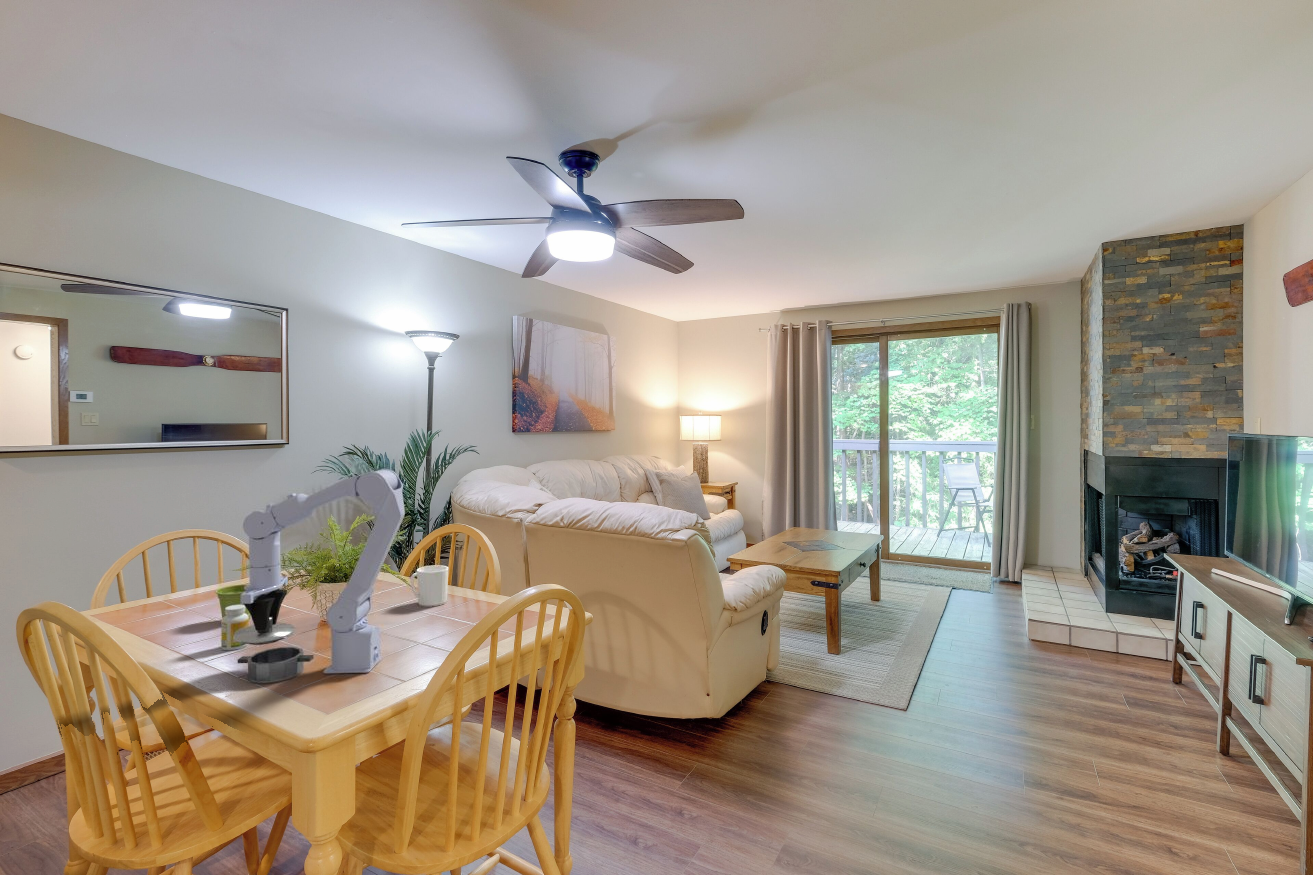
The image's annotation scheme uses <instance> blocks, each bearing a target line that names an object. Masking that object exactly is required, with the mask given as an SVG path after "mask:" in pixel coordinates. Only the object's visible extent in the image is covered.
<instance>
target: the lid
mask: <svg viewBox="0 0 1313 875" xmlns="http://www.w3.org/2000/svg"><path fill="white" fill-rule="evenodd" d="M294 633H295V626H294V625H293V624H291V623H287V622H276V624H275V625H273V616H271V615H269V625H268V628H267V630H256V629H255V626H254V624H251V625H249V626H247V627H244V628H241V629H239V630H237V631H236V632H235V633H234V634H233V640H234V641H236V642H238V643H243V644H248V645H250V646H251V645H253V646H262V645H268V644H273V643H278V642H279V641H282V640H284V639H288V638H289V637H292V636H293V635H294Z"/></svg>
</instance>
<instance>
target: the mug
mask: <svg viewBox="0 0 1313 875" xmlns="http://www.w3.org/2000/svg"><path fill="white" fill-rule="evenodd" d="M415 578H416V581H417V582H416V584H417V591H416V588H415V587H416V586H415V583H414V581H415ZM448 578H449V566H446V565H441V564H440V565H439V564H438V565H437V564H435V565H425V566H422V567H419V568H417V569H416V572H415V573H413V574H412V575H411V577H410V586H411V589H412V592H413V594H414V596H415V597H416V598H417V600H418V606H420V607H423V608H433V607H432V606H435V607H439V606H438V605H440V606H443V605H445V604H446V603H447V602H448V585H449V583H448V582H449V579H448ZM444 603H445V604H444ZM442 604H443V605H442Z"/></svg>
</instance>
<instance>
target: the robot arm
mask: <svg viewBox="0 0 1313 875" xmlns="http://www.w3.org/2000/svg"><path fill="white" fill-rule="evenodd" d="M403 488H404V483H402V481H401V479H400V477H399V476H398V474H397V473H396V472H395V471H394V470H393V469H389V468H381V469H378V470H376V471H367V472H365V473H362V474H359V475H358V474H357V475H354V476H351V477H347V478H344V479H341V480H340V481H338V482H336V483H334V484H332V485H330V486H327V487H325V488H323V489H320V490H318V491H317V492H314V493H313V494H310V495H308V494H305V493H302V492H301V493H296V492H293V493H291V494H288V495H286V497H287V498H286V499H283V500H282V501H279V502H276V503H272V502H271V503H268V504H266V508H265V509H261V510H254V511H252V512H251V513H249V514H248V515H247V516H245V518H244V519H243V523H242V529H243V531H244V533H245V535H247V536H248V562H249V563H248V565H249V567H248V568H249V569H248V570H249V571H248V572H249V585H246V586H244V589H245V590H246V591H245V592H244V593H243V594H241V604H244V605H245V607H246V608H247V609H248V611H249V613H250V618H251V619H252V623H253V625H254V626H255V629H256V630H267V628H268V625H269V615H271V616H273V625H275V624H276V623H278V618H279V613H280V610H281V607H282V603H283V602H284V599H285V597H286V595H288V590H287V589H284V588H283V589H282V587H285V586H288V584H289V583H288V581H289V580H288V578H289V577H288V576H282V574H281V572H282V571H281V568H282V565H281V563H282V562H281V532H282V531H283V530H285V529H287V528H290V527H292V526H295V525H296V524H298V523H301V522H303V521H306V520H307V519H311V518H312V517H313V516H314V514H315V512H316V510H317V508H320V507H323V506H325V505H328V504H330V503H333V502H336V501H338V500H340V499H342V498H345V497H351V498H358V497H360V498H361V499H362V500H363V501H364V502H366V503H367V504H368V505H369V506H370V507H371V508H372V510H373V512H374V514H375V515H376V521H375V522H374V525H373V528H372V529H371V532H370V533H369V536H368V538H367V540H366V543H365V544H364V547H363V548H362V549H363V550H362V552H361V554H360V556H359V558H358V561H357V563H356V565H355V567H354V569H353V571H352V574H351V576H350V579H349V581H348V583H347V585H346V586H345V587H344V588H343V590H342V591H341V593H340V594H339V596H338V598H337V600H336V602H334V603H333V604H332V605H331V606H329V608H328V609H327V612H326V614H325V619H326V623H327V625H328V626H329V627H330V628H331V629H330V634H331V635H330V642H331V643H330V651H331V652H330V654H331V655H330V657H331V659H330V660H331V661H330V663H331V664H329V666H328V667H326V668H325V670H323V671H322V672H323V674H353V673H355V674H356V673H357V674H358V673H359V674H360V673H361V674H362V673H364V674H365V673H369V672H370V671H371V670H372V669H374V667H375V666H376V665H377V664H378V663H379V662H380V661H381V660H382V656H381V630H380V627H379V626H377V625H370V624H368V623H369V622H368V618H367V615H368V614H369V613H370V611H371V609H372V596H373V594H374V588H373V587H374V585H375V582H376V580H377V578H378V576H379V573H380V572H381V569H382V567H383V565H384V562H385V560H386V558H387V555H388V553H389V551H390V549H391V547H392V544H393V543H394V540H395V539H396V538H395V537H396V536H397V533H398V531H399V529H400V527H401V524H402V522H403V519H404V518H405V513H406V510H405V504H404V503H405V502H404V496H403Z"/></svg>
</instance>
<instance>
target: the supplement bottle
mask: <svg viewBox="0 0 1313 875" xmlns="http://www.w3.org/2000/svg"><path fill="white" fill-rule="evenodd" d="M244 612H245V605H232V606H229V607H226V608H225V614H226V616H225V617H223V618H222V617H221V621H220V622H221V625H220V626H221V628H220V629H221V631H220V632H221V633H220V634H221V636H220V637H221V639H220V642H221V644H220V645H221V649H222V650H223V651H235V650H240V649H241V650H242V649H243V648H245V647H247V646H248V645H249V644H243V643H238V642H236V641H234V640H233V634H234V633H235V632H236V631H237V630H239V629H241V628H244V627H247V626H250V625H249V623H250V622H249V621H250V619H249V617H248V615H247V614H245V613H244Z"/></svg>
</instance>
